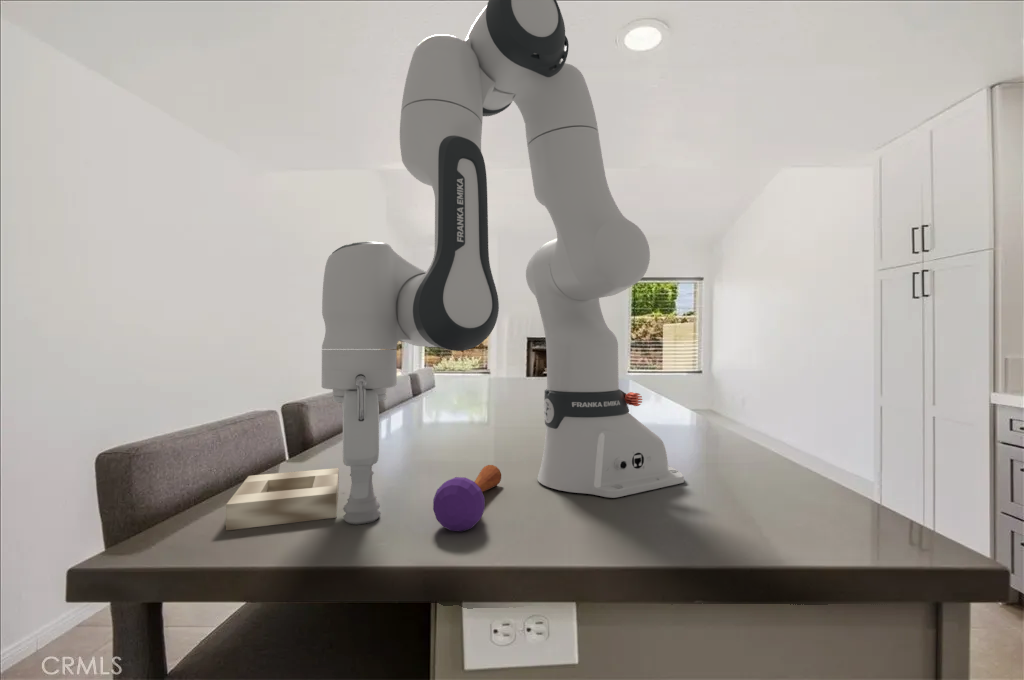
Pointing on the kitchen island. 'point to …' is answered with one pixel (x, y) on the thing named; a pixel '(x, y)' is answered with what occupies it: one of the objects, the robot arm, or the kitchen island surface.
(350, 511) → the rook chess piece
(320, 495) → the square wooden frame
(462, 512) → the purple maraca
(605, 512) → the kitchen island surface
